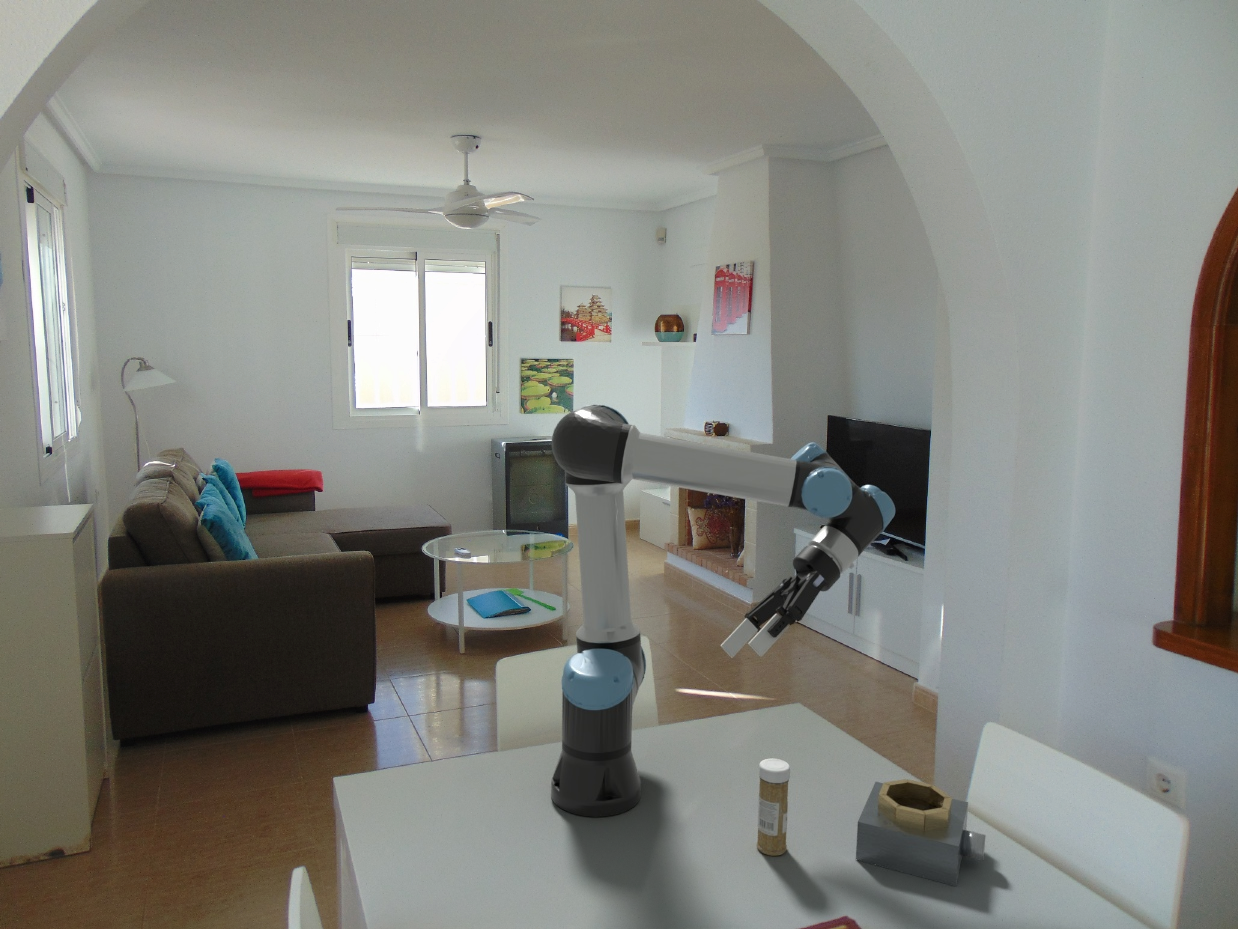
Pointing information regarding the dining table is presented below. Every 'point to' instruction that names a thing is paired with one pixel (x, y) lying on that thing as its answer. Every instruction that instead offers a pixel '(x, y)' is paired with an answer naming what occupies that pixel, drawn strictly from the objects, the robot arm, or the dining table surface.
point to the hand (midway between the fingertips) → (739, 651)
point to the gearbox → (916, 831)
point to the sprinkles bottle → (773, 806)
